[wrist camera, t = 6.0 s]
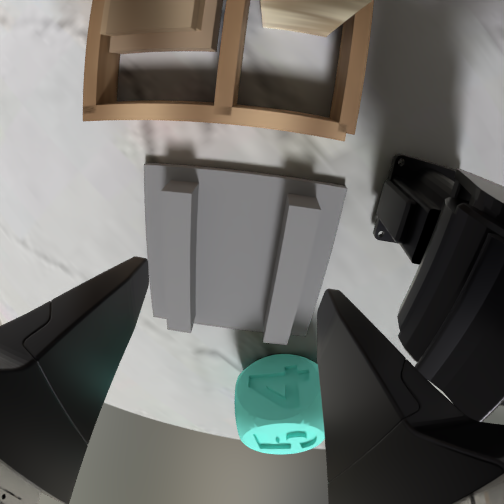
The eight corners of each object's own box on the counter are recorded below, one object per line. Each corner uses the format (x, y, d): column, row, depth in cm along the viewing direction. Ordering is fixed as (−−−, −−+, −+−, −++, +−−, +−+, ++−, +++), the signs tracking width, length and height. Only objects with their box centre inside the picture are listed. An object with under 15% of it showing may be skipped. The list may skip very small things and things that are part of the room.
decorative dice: (238, 356, 30) (230, 424, 23) (317, 347, 29) (326, 417, 22) (253, 397, 34) (249, 456, 27) (320, 391, 33) (326, 450, 26)
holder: (345, 185, 21) (355, 200, 18) (305, 331, 28) (307, 354, 25) (147, 162, 20) (131, 173, 18) (155, 312, 27) (146, 333, 25)
